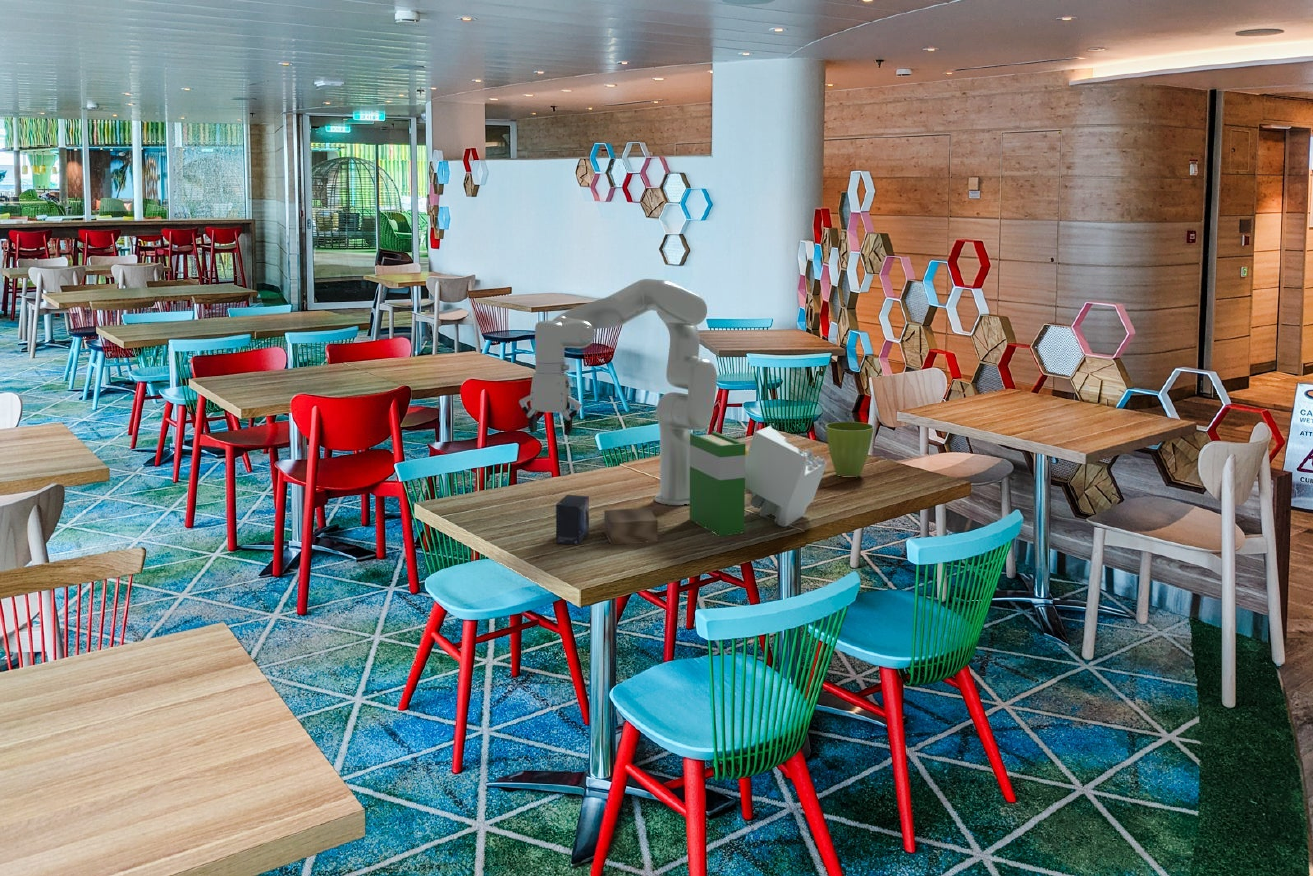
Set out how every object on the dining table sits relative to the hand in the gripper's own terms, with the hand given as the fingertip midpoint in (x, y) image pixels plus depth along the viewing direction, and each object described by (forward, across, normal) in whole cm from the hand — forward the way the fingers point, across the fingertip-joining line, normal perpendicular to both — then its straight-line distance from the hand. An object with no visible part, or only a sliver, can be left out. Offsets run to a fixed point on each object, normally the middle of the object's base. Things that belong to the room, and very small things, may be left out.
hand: (550, 433), depth 304 cm
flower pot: (+25, -67, -83) cm, 109 cm away
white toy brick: (+25, -58, -25) cm, 68 cm away
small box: (+26, -10, +8) cm, 29 cm away
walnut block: (+26, -23, +2) cm, 35 cm away
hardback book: (+26, -42, -14) cm, 51 cm away
